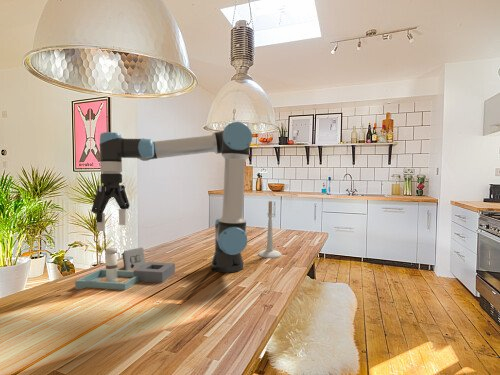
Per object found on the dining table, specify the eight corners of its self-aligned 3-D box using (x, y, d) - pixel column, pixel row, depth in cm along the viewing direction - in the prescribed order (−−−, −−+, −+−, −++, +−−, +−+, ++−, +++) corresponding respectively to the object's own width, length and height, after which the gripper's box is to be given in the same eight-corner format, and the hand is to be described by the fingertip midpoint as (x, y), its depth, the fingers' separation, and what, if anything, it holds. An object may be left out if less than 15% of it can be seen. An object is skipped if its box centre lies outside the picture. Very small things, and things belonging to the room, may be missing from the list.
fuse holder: (175, 274, 123) (175, 263, 123) (162, 285, 111) (162, 272, 111) (148, 273, 124) (148, 261, 124) (133, 283, 112) (133, 270, 112)
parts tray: (144, 279, 117) (144, 271, 117) (125, 292, 103) (125, 283, 103) (100, 276, 120) (100, 269, 120) (75, 289, 106) (75, 280, 106)
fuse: (119, 280, 113) (119, 248, 113) (113, 284, 109) (113, 250, 109) (110, 280, 114) (110, 247, 113) (103, 283, 110) (103, 250, 109)
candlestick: (279, 252, 163) (280, 199, 163) (283, 258, 151) (283, 201, 150) (257, 252, 163) (258, 199, 162) (258, 258, 150) (259, 201, 149)
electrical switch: (127, 272, 125) (126, 251, 126) (121, 271, 129) (120, 250, 129) (146, 267, 133) (145, 247, 133) (140, 266, 136) (139, 246, 136)
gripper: (121, 173, 123) (122, 222, 124) (78, 172, 98) (80, 233, 99) (137, 173, 122) (138, 222, 123) (98, 172, 97) (100, 234, 98)
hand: (112, 227), depth 111 cm, fingers open, 13 cm apart
